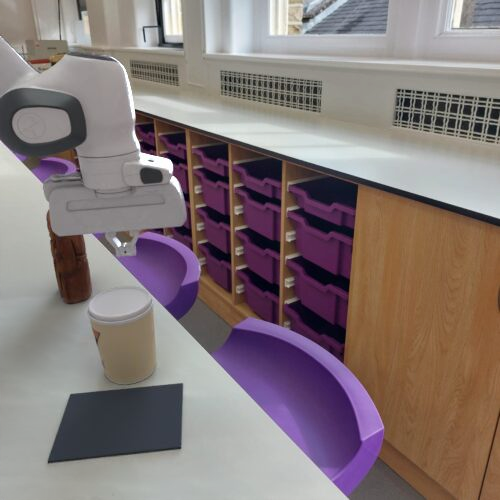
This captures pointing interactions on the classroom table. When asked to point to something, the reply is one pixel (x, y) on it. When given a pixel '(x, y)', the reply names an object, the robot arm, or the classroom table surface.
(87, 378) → the classroom table surface
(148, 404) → the rubber mat
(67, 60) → the robot arm
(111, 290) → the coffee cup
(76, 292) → the wooden figurine
